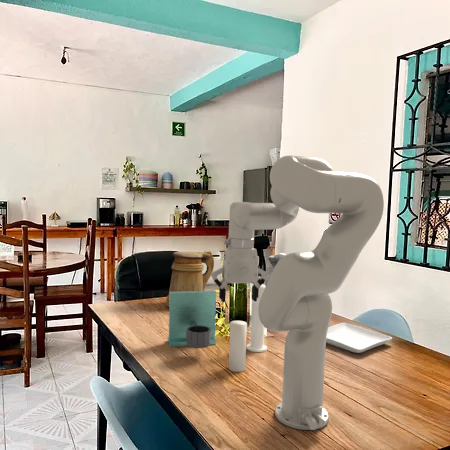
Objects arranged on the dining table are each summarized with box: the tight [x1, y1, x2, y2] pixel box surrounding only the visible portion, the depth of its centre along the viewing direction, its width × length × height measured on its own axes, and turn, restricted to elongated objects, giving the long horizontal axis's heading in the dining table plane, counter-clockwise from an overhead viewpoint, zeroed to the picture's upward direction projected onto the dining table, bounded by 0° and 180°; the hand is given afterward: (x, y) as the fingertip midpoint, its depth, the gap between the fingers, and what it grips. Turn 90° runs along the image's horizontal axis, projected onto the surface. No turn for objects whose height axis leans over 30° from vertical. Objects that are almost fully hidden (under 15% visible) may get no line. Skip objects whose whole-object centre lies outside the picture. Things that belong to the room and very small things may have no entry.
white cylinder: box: [228, 320, 248, 373], centre depth 131 cm, size 5×5×14 cm
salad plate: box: [326, 322, 393, 354], centre depth 158 cm, size 21×21×3 cm
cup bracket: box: [167, 290, 217, 349], centre depth 145 cm, size 20×16×18 cm
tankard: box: [165, 250, 215, 308], centre depth 202 cm, size 18×24×25 cm
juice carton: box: [265, 252, 287, 286], centre depth 191 cm, size 9×10×27 cm
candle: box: [246, 275, 268, 353], centre depth 148 cm, size 7×7×25 cm
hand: (238, 300), depth 131 cm, fingers open, 9 cm apart
